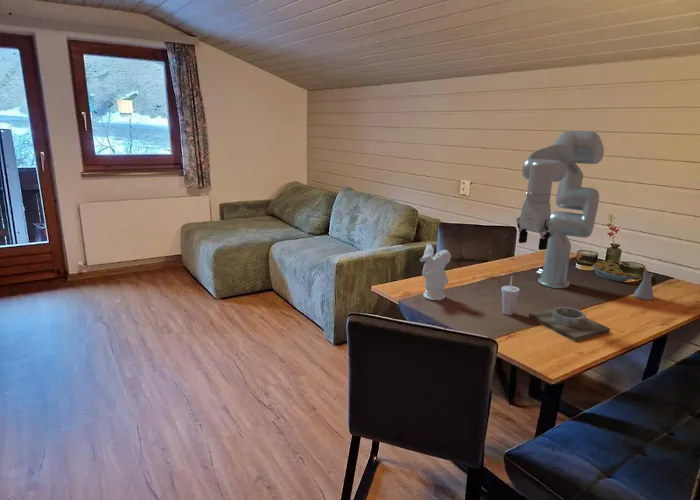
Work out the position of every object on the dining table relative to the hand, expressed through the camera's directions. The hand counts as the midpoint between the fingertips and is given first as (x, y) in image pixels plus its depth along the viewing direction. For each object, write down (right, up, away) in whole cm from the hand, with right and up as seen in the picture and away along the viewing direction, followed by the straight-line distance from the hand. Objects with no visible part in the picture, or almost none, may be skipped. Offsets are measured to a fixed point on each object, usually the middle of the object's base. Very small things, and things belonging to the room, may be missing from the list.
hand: (532, 246), depth 162 cm
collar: (+11, -26, -3) cm, 28 cm away
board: (+11, -27, -3) cm, 30 cm away
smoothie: (-6, -25, +7) cm, 26 cm away
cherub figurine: (-33, -21, +20) cm, 44 cm away
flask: (+53, -21, +22) cm, 61 cm away
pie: (+58, -13, +47) cm, 76 cm away
